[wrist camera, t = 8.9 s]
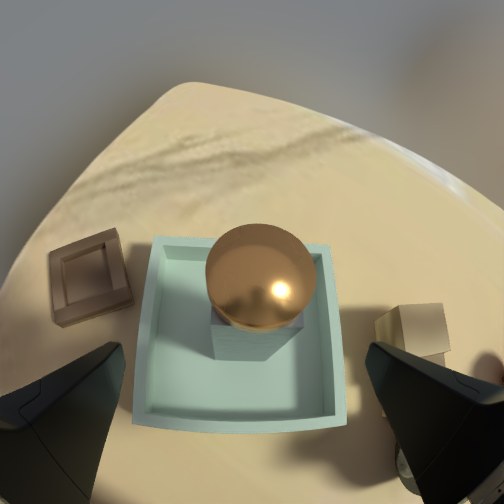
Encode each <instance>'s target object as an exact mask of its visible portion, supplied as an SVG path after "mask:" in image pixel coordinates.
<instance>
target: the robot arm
mask: <svg viewBox="0 0 504 504" xmlns="http://www.w3.org/2000/svg"><path fill="white" fill-rule="evenodd" d="M125 365H126V364H125V358H124V353H123V348H122V345H121V343H119V342H108V343H106V344H104V345H102V346H101V347H99V348H97V349H95V350H93V351H91V352H89V353H88V354H86V355H84V356H82V357H80V358H78V359H76V360H74V361H73V362H71V363H69V364H67V365H65V366H63V367H61V368H59V369H58V370H56V371H54V372H52V373H50V374H48V375H46V376H44V377H42V378H41V379H39V380H37V381H35V382H33V383H31V384H29V385H27V386H25V387H23V388H21V389H18V390H16V391H14V392H11V393H9V394H6V395H4V396H1V397H0V504H89V503H90V501H89V500H90V498H91V494H92V490H93V486H94V482H95V478H96V474H97V470H98V466H99V462H100V459H101V455H102V452H103V448H104V445H105V441H106V438H107V435H108V432H109V428H110V425H111V422H112V419H113V416H114V413H115V410H116V407H117V403H118V399H119V395H120V390H121V385H122V380H123V376H124V371H125ZM365 365H366V368H367V371H368V374H369V376H370V379H371V382H372V385H373V388H374V391H375V393H376V396H377V398H378V400H379V402H380V404H381V407H382V409H383V411H384V413H385V415H386V417H387V419H388V421H389V423H390V426H391V428H392V430H393V432H394V434H395V436H396V439H397V441H398V443H399V445H400V447H401V450H402V452H403V454H404V456H405V459H406V461H407V463H408V466H409V468H410V470H411V473H412V475H413V477H414V480H415V482H416V485H417V487H418V490H419V492H420V495H421V497H422V500H423V502H424V504H463V503H465V502H466V501H468V500H469V502H470V503H471V504H504V386H500V385H496V384H493V383H489V382H486V381H483V380H479V379H476V378H473V377H470V376H467V375H464V374H462V373H459V372H456V371H454V370H453V371H452V370H451V369H449V368H446V367H443V366H441V365H438V364H436V363H433V362H431V361H428V360H426V359H423V358H421V357H418V356H416V355H414V354H411V353H409V352H406V351H404V350H401V349H399V348H397V347H394V346H392V345H389V344H387V343H385V342H382V341H377V342H372V343H371V344H370V346H369V350H368V353H367V356H366V360H365Z"/></svg>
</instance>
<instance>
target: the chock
mask: <svg viewBox="0 0 504 504" xmlns="http://www.w3.org/2000/svg"><path fill="white" fill-rule="evenodd" d="M374 325H375V332H376V340H377V341H382V342H385V343H387V344H389V345H392V346H394V347H397V348H399V349H401V350H404V351H406V352H409V353H411V354H414V355H416V356H418V357H421V358H423V359H426V360H428V361H431V362H433V363H436V364H438V365H441V366H443V367H445V359H444V353H445V352H448V351H451V349H450V342H449V336H448V330H447V324H446V319H445V314H444V309H443V305H442V303H430V304H412V305H398V306H397V307H395V308H394V309H392V310H390V311H389V312H387V313H386V314H384V315H383V316H381V317H379V318H378V319H376V320H375V321H374ZM382 417H386V415H385V413H384V411H383V409H382Z"/></svg>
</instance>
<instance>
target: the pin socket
mask: <svg viewBox="0 0 504 504" xmlns="http://www.w3.org/2000/svg"><path fill="white" fill-rule="evenodd" d="M50 269H51V285H52V296H53V305H54V313H55V320H56V324H57V325H59V326H61V327H62V328H64V327H67V326H70V325H73V324H76V323H79V322H83V321H86V320H89V319H92V318H95V317H98V316H101V315H104V314H107V313H110V312H113V311H116V310H119V309H122V308H125V307H128V306H131V305H134V301H133V297H132V293H131V289H130V285H129V281H128V277H127V273H126V268H125V264H124V259H123V254H122V249H121V244H120V239H119V234H118V232H117V230H116V228H112V229H109V230H106V231H103V232H101V233H98V234H95V235H92V236H90V237H87V238H84V239H82V240H79V241H76V242H74V243H71V244H68V245H66V246H63V247H61V248H58V249H56V250H53V251H51V252H50Z"/></svg>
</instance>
